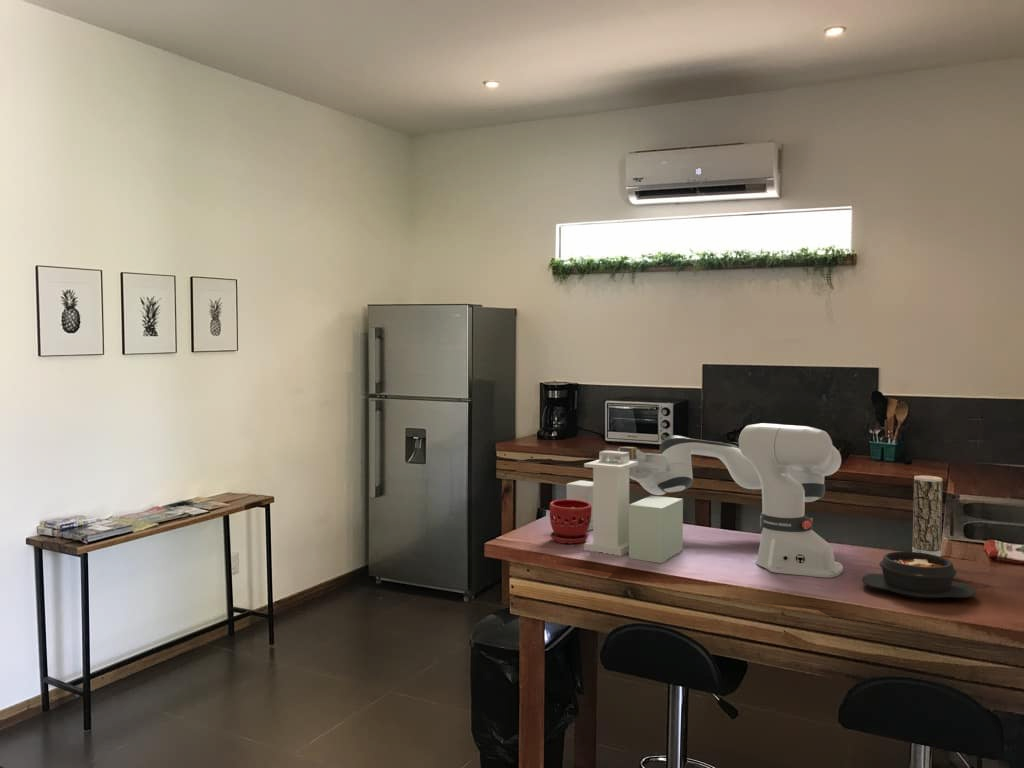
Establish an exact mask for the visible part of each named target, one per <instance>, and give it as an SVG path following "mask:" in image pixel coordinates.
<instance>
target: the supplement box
mask: <svg viewBox="0 0 1024 768" xmlns="http://www.w3.org/2000/svg"><path fill="white" fill-rule="evenodd" d="M565 485H566V500H580V501H585V502H588V503H590V504H591V506H592V511H591V520H590V525H589V528H588V530H587V532H589V531H591V530H593V481H589V480H582V479H581V480H576V481H572V482H568V483H566V484H565ZM571 508H575V507H571ZM582 520H583V518H582Z"/></svg>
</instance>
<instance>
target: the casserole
mask: <svg viewBox="0 0 1024 768" xmlns="http://www.w3.org/2000/svg"><path fill="white" fill-rule="evenodd" d="M879 567H880V568H881V570H882V573H867V574H865V575H863V576H862V577H861V582H862V583H863V584H865V585H866V586H868V587H870V588H873V589H874V588H875V589H879V590H884V591H889V592H892V593H894V594H897V595H899V596H903V597H906V598H911V599H916V600H917V599H918V600H938V599H942V598H956V599H957V598H958V599H961V598H967V599H968V598H970V597H973V596H975V595H976V593H977V592H976V590H975V589H974V588H973V587H972V586H970V585H969V584H967V583H964V582H959V581H954V580H953V579H954V578H955V577H954V576H956V575H957V573H958V572H957V570H956V569H955V568H954V564H953V562H952V561H951V560H949V559H947V558H945V557H942V556H941V557H939V556H935V555H931V554H925V553H918V552H913V551H893V552H889V553H888V552H887V553H886V554H884V555H883V558H882V560H881V561H880V562H879Z"/></svg>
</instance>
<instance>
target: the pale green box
mask: <svg viewBox="0 0 1024 768" xmlns="http://www.w3.org/2000/svg"><path fill="white" fill-rule="evenodd" d="M683 512H684V498H678V497H670V496H662V495H653V494H652V495H649V496H647V497H644V498H641V499H639V500H637V501H635V502H632V503H629V552H628V558H629V559H633V560H639V561H646V562H652V563H658V564H659V563H660V564H663V563H665V562H666V561H668V560H669V558H670V557H671V558H673V557H674V556H676V555H678V554H679V553H681V552H682V550H683V541H684V540H683V539H684V538H683V537H684V536H683V535H684V532H683V527H684V526H683V525H684V514H683ZM680 551H681V552H680ZM677 553H678V554H677ZM675 554H676V555H675ZM673 555H674V556H673ZM672 556H673V557H672ZM671 558H670V559H671ZM667 559H668V560H667Z"/></svg>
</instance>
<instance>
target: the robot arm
mask: <svg viewBox="0 0 1024 768" xmlns="http://www.w3.org/2000/svg"><path fill="white" fill-rule="evenodd" d="M608 451H611V450H608ZM617 451H619V452H620V447H619V448H618V449H617ZM659 452H660V453H649V452H647V453H646V452H642V451H641V450H640V449H637V450H634V455H635V457H637V459H633V460H629V461H638V465H636V466H633V467H630V468H629V479H631V480H633V481H636V482H638V483H639V485H640V486H641V487H642V488H643V489H644V491H645V490H646V492H648V493H650V494H652V495H653V496H663V495H665V494H678V493H682V492H684V491H686V490H687V489H688V488H690V487H691V486H692V484H693V482H694V479H693V476H694V475H693V466H692V455H699V456H706V457H713V458H716V459H719V460H720V461H721V462H722V463H723V465H725V467H726V469H727V470H728V472H729V474H730V476H731V478H732V480H733V481H734V482H735V483H736V484H737V485H739V486H740V487H742V488H744V489H749V490H761V499H762V500H761V505H762V512H761V513H760V518H759V528H760V535H761V536H760V542H759V548H758V553H757V557H756V559H755V564H756V565H758V566H759V567H762V568H764V569H766V570H768V571H769V572H771V573H775V574H776V573H777V574H787V575H796V576H807V577H815V578H817V577H818V578H828V579H829V578H834V577H837V576H840V575H841V574H842V573H843V571H844V567H843V564H842V563H841V562H839V561H835V555H834V551H833V548H832V546H831V544H830V543H829V542H827V541H826V540H825V539H824V538H822V537H821V536H820V535H819V534H817V533H816V532H815V531H814V530H812V528H813V520H814V519H813V517H809V516H807V515H806V514H805V507H806V506H805V503H809V502H810V503H811V502H815V501H817V500H820V499H822V498H823V497H824V496H825V493H826V492H825V491H826V485H825V477H827V476H831V475H833V474H834V473H836V472H837V471H838V470H839V469H840V468H841V465H842V456H841V453H840V452H839V450H838V449H837V448H836V447H835V445H833V440H832V438H831V436H830V435H829V434H828V432H827V431H825V430H822V429H819V428H816V427H813V426H809V425H794V424H783V423H782V424H781V423H768V422H767V423H766V422H761V423H754V424H747V425H746V426H745V427H743V429H742V430H741V432H740V433H739V437H738V445H735V444H731V443H727V442H721V441H712V440H705V439H695V438H690V437H687V436H683V435H677V434H676V435H675V434H672V435H668V436H667V437H665V439H663V440H662V441H661V442H660V445H659ZM608 459H609V456H608Z"/></svg>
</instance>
